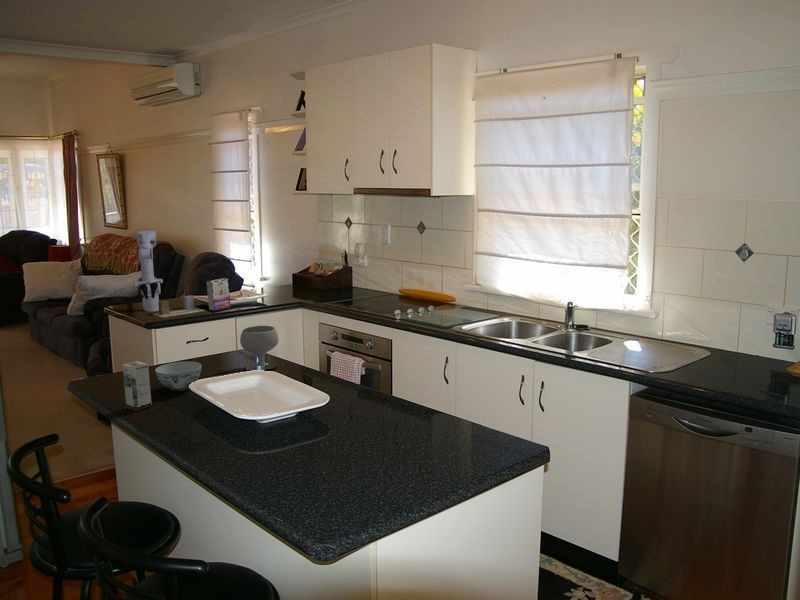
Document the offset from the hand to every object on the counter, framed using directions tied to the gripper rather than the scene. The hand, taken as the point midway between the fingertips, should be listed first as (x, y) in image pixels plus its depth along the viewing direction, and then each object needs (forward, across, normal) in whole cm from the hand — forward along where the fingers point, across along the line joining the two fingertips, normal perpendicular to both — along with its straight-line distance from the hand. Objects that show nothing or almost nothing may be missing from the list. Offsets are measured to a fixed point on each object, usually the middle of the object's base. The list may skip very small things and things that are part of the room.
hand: (149, 298), depth 360 cm
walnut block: (+10, +7, 0) cm, 12 cm away
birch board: (+10, +15, 0) cm, 18 cm away
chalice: (+11, -12, -126) cm, 127 cm away
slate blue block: (+10, +23, +4) cm, 25 cm away
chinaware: (+11, -45, -128) cm, 136 cm away
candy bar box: (+11, +35, -7) cm, 37 cm away
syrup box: (+11, -63, -137) cm, 151 cm away
